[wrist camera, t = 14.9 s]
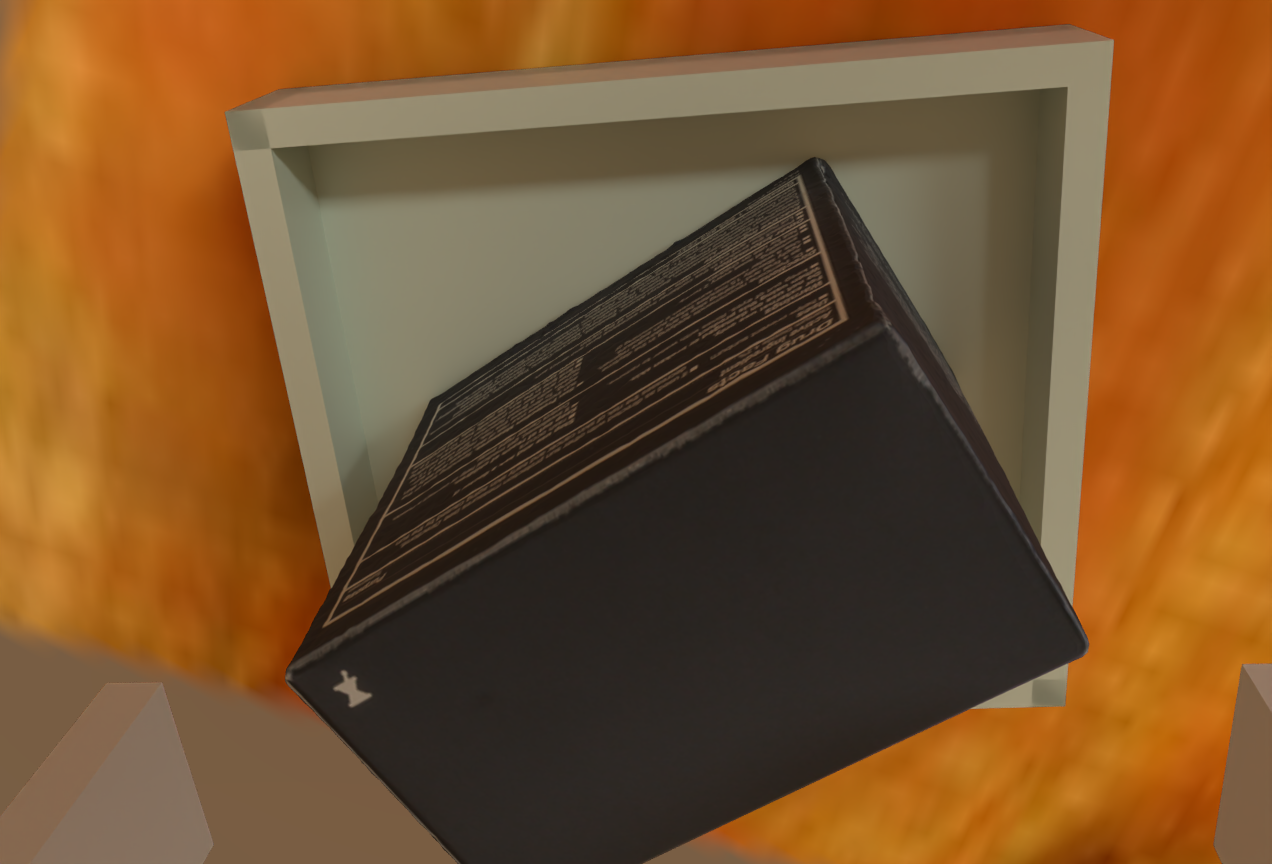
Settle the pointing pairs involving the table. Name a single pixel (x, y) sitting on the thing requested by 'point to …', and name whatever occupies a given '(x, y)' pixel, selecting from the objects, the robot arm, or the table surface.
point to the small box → (683, 554)
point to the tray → (681, 229)
